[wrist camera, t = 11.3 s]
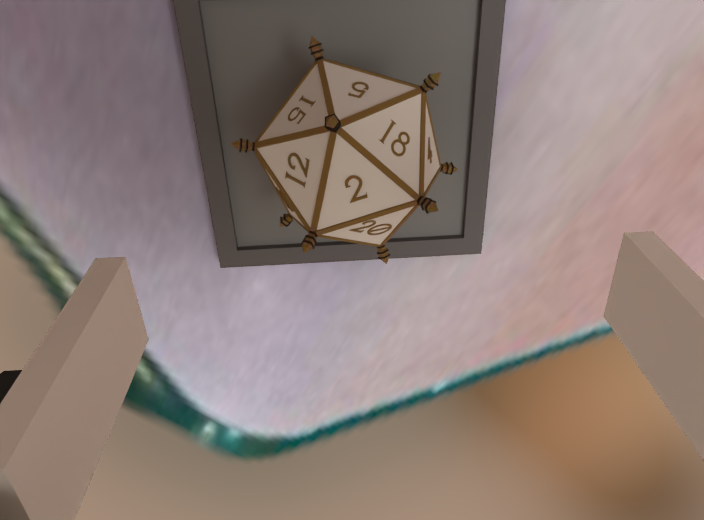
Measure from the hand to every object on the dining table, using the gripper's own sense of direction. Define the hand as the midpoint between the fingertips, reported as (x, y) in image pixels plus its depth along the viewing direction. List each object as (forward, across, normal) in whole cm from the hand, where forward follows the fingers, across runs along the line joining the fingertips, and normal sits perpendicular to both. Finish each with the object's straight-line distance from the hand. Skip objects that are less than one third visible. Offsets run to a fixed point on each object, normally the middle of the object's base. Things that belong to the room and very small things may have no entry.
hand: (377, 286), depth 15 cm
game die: (+14, 0, 0) cm, 14 cm away
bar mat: (+14, 0, 0) cm, 14 cm away
